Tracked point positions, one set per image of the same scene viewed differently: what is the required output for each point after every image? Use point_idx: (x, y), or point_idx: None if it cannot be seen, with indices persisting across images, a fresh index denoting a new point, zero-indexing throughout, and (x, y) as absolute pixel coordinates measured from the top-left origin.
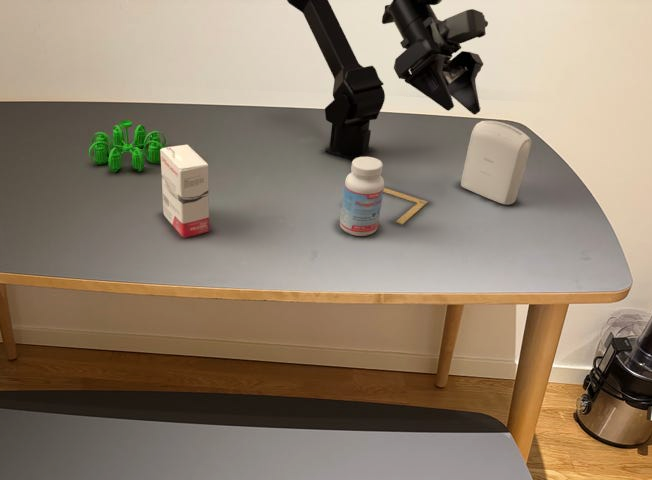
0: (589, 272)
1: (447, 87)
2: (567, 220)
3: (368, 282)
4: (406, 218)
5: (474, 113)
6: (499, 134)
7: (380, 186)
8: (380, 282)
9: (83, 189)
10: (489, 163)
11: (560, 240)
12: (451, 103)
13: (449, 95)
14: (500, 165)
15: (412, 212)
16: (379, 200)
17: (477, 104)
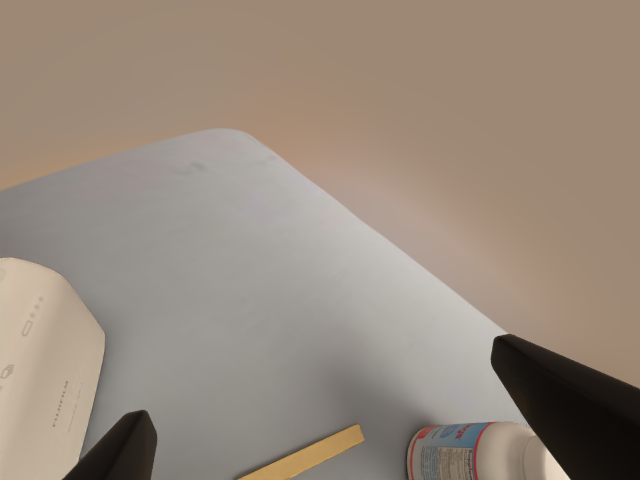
0: (230, 156)
1: (636, 414)
2: (75, 220)
3: (477, 325)
4: (338, 437)
5: (155, 436)
6: (5, 372)
7: (505, 424)
8: (464, 315)
9: None
10: (65, 397)
11: (171, 204)
12: (525, 343)
13: (574, 366)
14: (75, 349)
15: (309, 453)
16: (473, 424)
17: (121, 446)
